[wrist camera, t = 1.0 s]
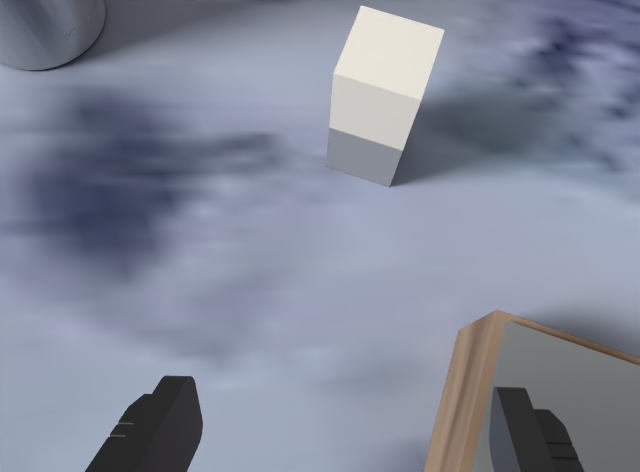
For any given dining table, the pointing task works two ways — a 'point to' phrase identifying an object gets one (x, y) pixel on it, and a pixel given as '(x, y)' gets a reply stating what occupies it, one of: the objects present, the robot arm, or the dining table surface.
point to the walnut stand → (538, 394)
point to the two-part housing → (378, 93)
